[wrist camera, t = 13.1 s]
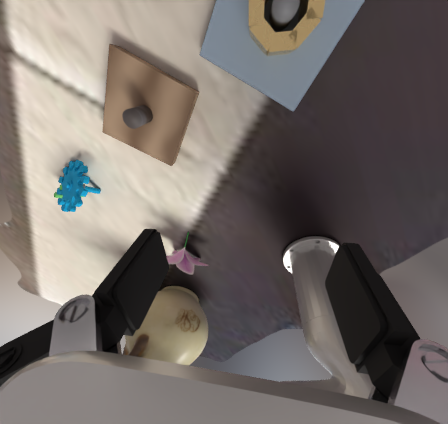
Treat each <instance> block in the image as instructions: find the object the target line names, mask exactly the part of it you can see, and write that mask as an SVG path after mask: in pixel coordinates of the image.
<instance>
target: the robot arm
mask: <svg viewBox="0 0 448 424" xmlns="http://www.w3.org/2000/svg"><path fill="white" fill-rule="evenodd" d="M283 263H284V266H285V268H286V269H287V270H288V271H289V272H291V273H292V274H293V279H294V284H295V290H296V295H297V300H298V306H299V311H300V317H301V322H302V327H303V333H304V337H305V342H306V344H307V347H308V348H309V350H310V352H311V353H312V355H313V356H314V357H315V358H316V359H317V361H318V362H320V364H321V365H322V366H324V368H325V369H326V370H327V371H328V372H329V373H331V375H332V377H331V378H330V379H326V380H311V381H282V382H277V381H272V380H266V379H261V378H255V377H250V376H244V375H238V374H233V373H227V372H222V371H216V370H210V369H205V368H199V367H193V366H188V365H182V364H176V363H171V362H165V361H159V360H153V359H147V358H142V357H136V356H129V355H122V353H121V345H120V340H121V338H122V336H123V335H128V336H133V335H134V333H135V331H136V330H138V329H139V328H140V327H141V325H142V323H143V321H144V319H145V317H146V315H147V313H148V311H149V309H150V307H151V305H152V303H153V301H154V299H155V297H156V295H157V292H158V290H159V288H160V286H161V284H162V282H163V280H164V278H165V276H166V274H167V272H168V270H169V264H168V260H167V257H166V253H165V249H164V246H163V242H162V239H161V235H160V233H159V232H157V230H155V229H145V230H143V232H142V233H141V234H140V235H139V237H138V238H137V239H136V240H135V242H134V243H133V244H132V245H131V247H130V248H129V249H128V250H127V252H126V253H125V254H124V255H123V257H122V258H121V259H120V260H119V262H118V263H117V264H116V266H115V267H114V268H113V269H112V271H111V272H110V273H109V274H108V276H107V277H106V278H105V279H104V281H103V282H102V283H101V284H100V286H99V287H98V288H97V289H96V291H95V293H94V294H93V295H92V296H90V295H80V296H77V297H75V298H73V299H71V300H69V301H68V302H66V303H65V304H64V305H63V306H62V307H61V308H60V309H59V310H58V312H57V313H56V315H55V318H54V320H52V321H50V322H48V323H46V324H44V325H42V326H40V327H38V328H36V329H34V330H32V331H30V332H28V333H26V334H24V335H22V336H20V337H18V338H16V339H14V340H12V341H10V342H8V343H6V344H4V345H3V346H1V347H0V424H448V349H447V348H446V347H444V346H442V345H440V344H438V343H436V342H434V341H430V340H426V339H420V337H419V336H418V334H417V333H416V331H415V329H414V328H413V326H412V325H411V323H410V321H409V320H408V318H407V317H406V315H405V314H404V312H403V310H402V309H401V307H400V306H399V304H398V302H397V301H396V300H395V298H394V296H393V295H392V293H391V291H390V290H389V288H388V287H387V285H386V284H385V282H384V281H383V279H382V277H381V276H380V275H379V274H377V272H376V271H375V269H374V268H373V266H372V264H371V263H370V261H369V260H368V258H367V256H366V255H365V253H364V251H363V250H362V248H361V247H360V245H359V244H355V243H343V244H342V246H341V245H339V244H338V243H337V242H335V241H334V240H332V239H329V238H326V237H320V236H311V237H305V238H301V239H299V240H296V241H295V242H293V243H291V244H290V245H289V246H288V247H287V248H286V249H285V251H284V253H283Z"/></svg>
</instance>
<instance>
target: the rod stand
mask: <svg viewBox="0 0 448 424" xmlns="http://www.w3.org/2000/svg"><path fill="white" fill-rule="evenodd" d="M198 94H199V92H198V91H196V90H195V89H193V88H191V87H189V86H188V85H186V84H184V83H182V82H181V81H179V80H177V79H175V78H174V77H172V76H170V75H168V74H167V73H165V72H163V71H161V70H160V69H158V68H156V67H154V66H153V65H151V64H149V63H147V62H146V61H144V60H142V59H140V58H139V57H137V56H135V55H133V54H132V53H130V52H128V51H126V50H125V49H123V48H121V47H119V46H116V45H112V44H110V45H109V57H108V70H107V83H106V96H105V108H104V121H103V133H105V134H107V135H109V136H111V137H113V138H115V139H118V140H120V141H122V142H124V143H126V144H128V145H130V146H132V147H134V148H136V149H138V150H140V151H142V152H144V153H146V154H148V155H150V156H152V157H154V158H156V159H158V160H160V161H162V162H164V163H166V164H168V165H170V166H172V165H173V164H174V163H175V161H176V158H177V156H178V153H179V150H180V147H181V144H182V141H183V138H184V135H185V132H186V129H187V126H188V123H189V120H190V117H191V114H192V111H193V108H194V105H195V103H196V100H197V97H198Z"/></svg>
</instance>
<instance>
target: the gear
mask: <svg viewBox="0 0 448 424" xmlns="http://www.w3.org/2000/svg"><path fill="white" fill-rule="evenodd" d="M87 172H88V167H87V166H84V165H83V162H82V161H79V160H76V161H75V162H73V161H70V162H69V167H65V168H64V169H63V173H64V177H60V178H59V181H58V182H59V183H61V184H62V185H60V187H59V188H58V189H57V192H55V193H54V197H56V198H59V199H58V205H62V207H61V209H62V211H66V212H68V211H72V212H75V211H76V206H77V207H80V206H81V205H82V204H83V202H82V200H81V197H85V196H86V195H87V193H88V192H92V193H97V194H99V193H100V191H101V190H100V189H97V188H92V187H88V186H85V185H84V184H83V183H85V184H88V183H89V179H90V177H87V176H82V174H83V173H87Z"/></svg>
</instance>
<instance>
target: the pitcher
mask: <svg viewBox="0 0 448 424" xmlns="http://www.w3.org/2000/svg"><path fill="white" fill-rule="evenodd" d="M207 337H208V323H207V319H206V316H205V313H204V311H203V309H202V308H201V306H200V304H199V299H198V297H197V295H196V294H195V293H194V292H192V291H191V290H189V289H186V288H184V287H180V286H168V287H165V288H163V289H162V290H161V291H158V292H157V295H156V297H155V299H154V301H153V303H152V305H151V307H150V309H149V311H148V313H147V315H146V317H145V319H144V321H143V323H142V325H141V327H140V328H139V329H138V330H136V331H135V333H134V335H133V336H128V335H125V339H126V344H125V347H124V351H123V355H129V356H136V357H142V358H147V359H153V360H159V361H165V362H171V363H176V364H182V365H188V366H189V365H190V364H191V363H192V362H193V361H194V360H195V359H196V358H197V357H198V356H199V355H200V354H201V352H202V350H203V349H204V347H205V344H206V342H207Z"/></svg>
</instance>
